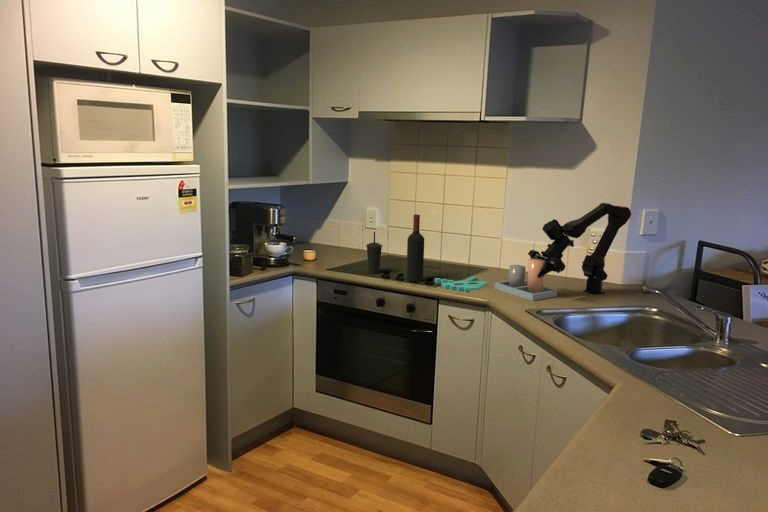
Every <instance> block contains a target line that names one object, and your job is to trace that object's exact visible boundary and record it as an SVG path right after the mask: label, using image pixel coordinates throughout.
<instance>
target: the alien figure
mask: <svg viewBox="0 0 768 512" xmlns="http://www.w3.org/2000/svg"><path fill="white" fill-rule="evenodd" d="M434 281H435V282H436V283H435V282H434V283H435V284H441V286H442V287H444V288H445V289H444V288H443V289H444V290H450V289H451V290H450V291H457V290H458V292H464V291H465V292H467V293H470V291H479V290H481V289H483V288H484V287H486V286H489V283H488V282H486V281H485V280H479V279H478V276H471V277H468V278H466V279H465V280H453V279H447V278H440V277H435V278H434ZM438 282H439V283H438ZM440 282H441V283H440ZM441 286H440V287H441ZM442 287H441V288H442ZM465 292H464V293H465Z"/></svg>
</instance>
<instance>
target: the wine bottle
mask: <svg viewBox="0 0 768 512" xmlns="http://www.w3.org/2000/svg"><path fill="white" fill-rule="evenodd" d="M412 220H413V223H412V224H413V226H412V233H410V234H409V235H408V237H407V239H406V240H407V245H406V246H407V247H406V279H405V280H407V282H408V281H413V280H417V281H419V282H418V283H422V282H424V267H425V266H424V265H425V264H424V263H425V260H424V259H425V237H424V236H423V234H421V232H420V220H421V215H420V214H413V219H412Z"/></svg>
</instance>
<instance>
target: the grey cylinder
mask: <svg viewBox="0 0 768 512" xmlns="http://www.w3.org/2000/svg"><path fill="white" fill-rule="evenodd" d="M508 281H509V284H508V286H510V287H513V288H517V287H523V286H524V283H525V281H526V266H525V265H520V264H511V265H509V271H508Z"/></svg>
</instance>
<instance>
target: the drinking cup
mask: <svg viewBox="0 0 768 512" xmlns="http://www.w3.org/2000/svg"><path fill="white" fill-rule="evenodd" d="M382 248H383V244H381V243H379V242H376V231H373V242H369V243H367V244H366V254H367V256H366V257H367V267H368V270H367V271H368V274H369V273H370V275H378V273H379V274H380V265H381V257H382Z"/></svg>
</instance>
